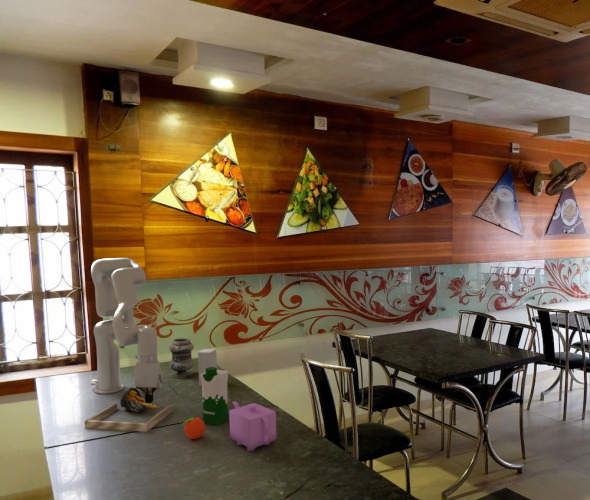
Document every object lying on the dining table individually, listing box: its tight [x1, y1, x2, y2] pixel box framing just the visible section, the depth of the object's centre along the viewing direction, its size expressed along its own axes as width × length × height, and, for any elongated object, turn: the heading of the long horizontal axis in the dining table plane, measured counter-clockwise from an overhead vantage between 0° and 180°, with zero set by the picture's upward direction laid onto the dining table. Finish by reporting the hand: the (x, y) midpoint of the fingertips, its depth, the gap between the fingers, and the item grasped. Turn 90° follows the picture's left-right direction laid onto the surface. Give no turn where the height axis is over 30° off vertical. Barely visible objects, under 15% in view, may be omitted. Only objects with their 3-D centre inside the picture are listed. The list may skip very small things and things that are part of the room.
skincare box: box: [197, 348, 218, 387], centre depth 223 cm, size 8×7×16 cm
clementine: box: [181, 416, 206, 440], centre depth 161 cm, size 8×7×7 cm
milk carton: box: [200, 367, 230, 426], centre depth 176 cm, size 9×9×20 cm
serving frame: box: [84, 402, 172, 433], centre depth 180 cm, size 24×19×2 cm
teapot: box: [228, 401, 277, 452], centre depth 157 cm, size 20×10×12 cm, turn 41°
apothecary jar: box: [168, 337, 195, 379], centre depth 237 cm, size 12×12×18 cm
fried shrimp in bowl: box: [119, 387, 161, 413], centre depth 189 cm, size 9×11×18 cm
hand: (149, 403), depth 194 cm, fingers closed
